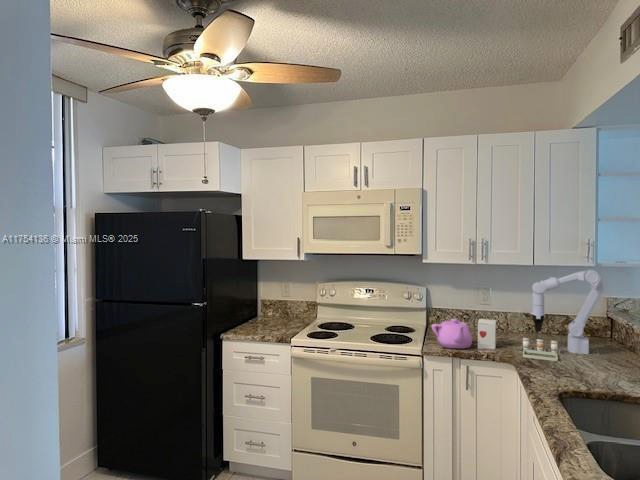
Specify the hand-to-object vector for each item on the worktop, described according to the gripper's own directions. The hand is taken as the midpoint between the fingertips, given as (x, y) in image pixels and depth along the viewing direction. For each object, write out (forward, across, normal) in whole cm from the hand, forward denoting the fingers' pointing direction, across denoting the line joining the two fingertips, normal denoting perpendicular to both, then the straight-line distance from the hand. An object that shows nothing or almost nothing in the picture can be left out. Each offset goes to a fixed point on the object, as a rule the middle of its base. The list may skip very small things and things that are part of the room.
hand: (538, 330), depth 230 cm
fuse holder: (+10, +8, +1) cm, 13 cm away
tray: (+10, +18, +1) cm, 21 cm away
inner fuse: (+9, +8, +7) cm, 14 cm away
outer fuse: (+9, +8, -6) cm, 14 cm away
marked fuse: (+9, +8, +1) cm, 12 cm away
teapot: (+10, +15, -41) cm, 45 cm away
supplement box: (+10, +10, -25) cm, 29 cm away
